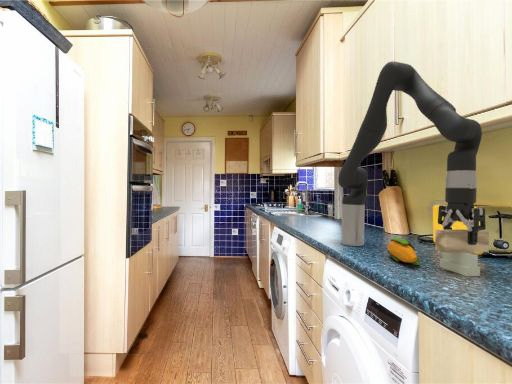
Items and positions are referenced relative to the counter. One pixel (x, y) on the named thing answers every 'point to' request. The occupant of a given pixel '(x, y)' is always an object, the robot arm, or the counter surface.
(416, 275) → the counter surface
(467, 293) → the counter surface
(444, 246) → the oak bar
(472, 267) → the grey rectangular block
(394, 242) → the corn
